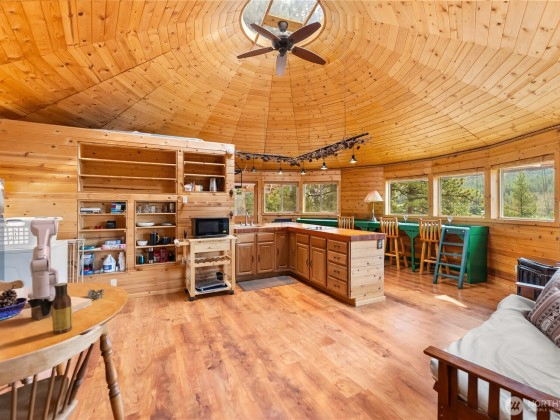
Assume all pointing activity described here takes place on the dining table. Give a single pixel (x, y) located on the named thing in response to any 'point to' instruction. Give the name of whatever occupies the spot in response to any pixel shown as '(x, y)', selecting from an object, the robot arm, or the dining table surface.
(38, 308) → the walnut cube
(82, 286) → the dining table surface
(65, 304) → the sauce bottle
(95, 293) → the egg carton
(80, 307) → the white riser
